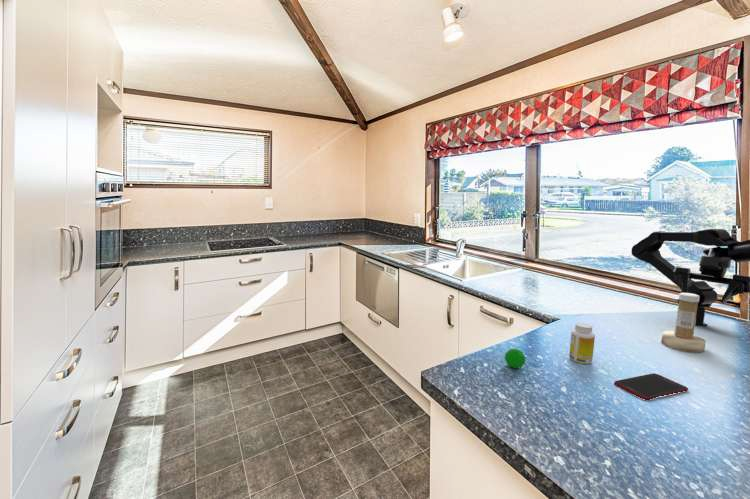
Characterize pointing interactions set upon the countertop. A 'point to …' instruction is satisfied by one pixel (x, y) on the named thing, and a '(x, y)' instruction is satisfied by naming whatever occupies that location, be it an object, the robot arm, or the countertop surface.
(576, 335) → the supplement bottle
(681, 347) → the round beige base
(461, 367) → the countertop surface
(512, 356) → the green ball
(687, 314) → the sprinkles bottle
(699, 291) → the robot arm
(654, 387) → the cell phone
